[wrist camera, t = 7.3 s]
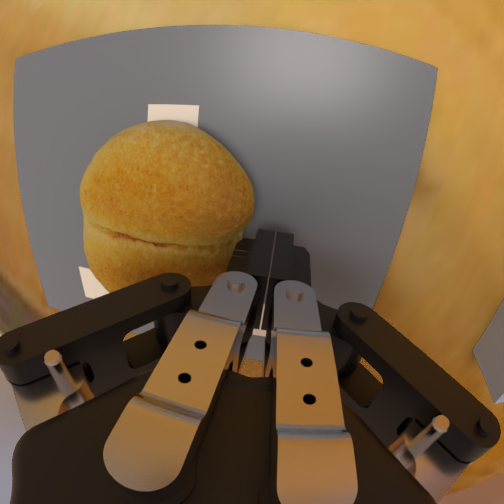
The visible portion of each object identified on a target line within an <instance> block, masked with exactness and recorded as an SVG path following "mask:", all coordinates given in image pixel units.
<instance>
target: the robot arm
mask: <svg viewBox="0 0 504 504" xmlns="http://www.w3.org/2000/svg"><path fill="white" fill-rule="evenodd" d="M274 237H275V231H272V230H266V229H259V228H258V231H257V235H256V238H255V239H249V238H243V239H242V240H240V241H239V242H237V244H236V246H235V249H234V251H233V254H232V257H231V259H230V262H229V264H228V267H227V269H226V272H225V273H222V274H221V275H219V276H218V277H217V278H216V280H215V282H214V283H213V284H212V285H208V286H193V287H191V282H190V280H189V279H188V278H187V277H186V276H184V275H182V274H179V273H162V274H159V275H156V276H154V277H151V278H148V279H146V280H143V281H140V282H138V283H135V284H132V285H130V286H127V287H124V288H122V289H119V290H116V291H114V292H111V293H108V294H106V295H103V296H100V297H98V298H95V299H92V300H90V301H87V302H84V303H82V304H79V305H77V306H74V307H71V308H69V309H66V310H63V311H61V312H58V313H56V314H53V315H50V316H48V317H45V318H43V319H40V320H37V321H35V322H32V323H30V324H27V325H24V326H22V327H19V328H17V329H14V330H12V331H9V332H7V333H5V334H3V335H2V336H1V337H0V368H1V370H2V371H3V373H4V375H5V378H6V379H7V381H8V382H9V384H10V385H11V387H12V388H13V391H14V395H15V399H16V402H17V405H18V408H19V412H20V415H21V417H22V421H23V424H24V426H25V430H26V432H25V433H24V435H23V436H22V437H21V438H20V440H19V441H18V443H17V445H16V447H15V450H14V453H13V458H12V477H13V480H12V495H11V501H10V504H438V503H439V502H440V500H441V499H442V498H443V497H444V496H445V494H446V493H447V492H448V491H449V490H450V488H451V487H452V486H453V485H454V483H455V482H456V481H457V479H458V478H459V477H460V475H461V474H462V473H463V471H464V470H465V469H466V467H467V466H469V465H470V464H471V463H473V462H474V461H475V460H477V459H478V458H479V457H481V456H482V455H483V454H484V453H486V452H487V451H488V450H489V449H491V448H492V447H493V446H494V445H495V444H496V443H497V442H498V440H499V438H500V434H501V430H500V425H499V422H498V420H497V418H496V417H495V415H494V414H493V413H492V412H490V411H489V410H488V409H487V408H486V407H485V406H484V405H483V404H482V403H481V402H479V401H478V400H477V399H476V398H475V397H474V396H473V395H472V394H470V393H469V392H468V391H467V390H466V389H465V388H464V387H463V386H461V385H460V384H459V383H458V382H457V381H456V380H455V379H453V378H452V377H451V376H450V375H449V374H448V373H447V372H445V371H444V370H443V369H442V368H441V367H440V366H439V365H437V364H436V363H435V362H434V361H433V360H432V359H430V358H429V357H428V356H427V355H426V354H425V353H423V352H422V351H421V350H420V349H419V348H418V347H416V346H415V345H414V344H413V343H412V342H411V341H409V340H408V339H407V338H406V337H405V336H403V335H402V334H401V333H400V332H399V331H397V330H396V329H395V328H394V327H393V326H391V325H390V324H389V323H388V322H387V321H385V320H384V319H383V318H382V317H381V316H379V315H378V314H377V313H376V312H375V311H373V310H372V309H371V308H369V307H368V306H366V305H364V304H361V303H357V302H347V303H344V304H342V305H340V307H339V308H338V310H337V309H334V308H331V307H329V306H326V305H324V304H322V303H321V302H319V301H318V300H317V299H316V294H315V291H314V290H313V289H312V288H311V268H310V254H309V252H308V251H307V250H306V248H305V247H301V246H294V245H293V244H294V234H291V233H285V232H279V231H277V234H276V240H275V247H274V253H273V259H272V266H271V272H270V278H269V284H268V290H267V296H266V302H265V308H264V314H263V320H262V326H261V330H266V337H265V342H264V347H263V366H262V377H256V378H251V377H247V376H244V375H241V374H240V371H241V368H242V365H243V362H244V359H245V356H246V353H247V350H248V346H249V342H250V338H251V337H252V334H253V329H259V327H260V322H261V316H262V310H263V305H264V299H265V293H266V287H267V281H268V275H269V269H270V263H271V257H272V250H273V244H274ZM153 321H154V328H152V329H150V330H148V331H146V332H144V333H141V334H139V335H137V336H135V337H132V338H130V339H128V340H125V341H123V339H124V337H125V335H126V334H127V333H129V332H130V331H133V330H135V329H137V328H139V327H142V326H144V325H146V324H149V323H151V322H153ZM362 357H363V358H364V359H365V360H366V361H367V362H368V363H369V364H370V365H371V366H372V367H373V368H374V369H375V370H376V371H377V372H378V373H379V374H380V375H381V377H382V379H383V385H382V384H381V383H380V382H379V381H378V380H377V379H376V378H375V377H374V376H373V375H372V374H371V373H370V372H369V371H368V370H367V369H366V368H365V367H364V366H363V365H362V364H361V363H360V360H361V358H362Z"/></svg>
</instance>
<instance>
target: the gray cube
mask: <svg viewBox="0 0 504 504" xmlns="http://www.w3.org/2000/svg"><path fill="white" fill-rule="evenodd" d="M472 351H473V353H474V356H475V358H476V360H477V362H478V365H479V367H480V369H481V372H482V374H483V376H484V379H485V381H486V384H487V386H488V389H489V391H490V394H491V396H492V399H493V402H494V404H496V403H502V402H504V299H503V301H502V303H501V305H500V306H499V308H498V310H497V312H496V313H495V315H494V317H493V319H492V320H491V322H490V323H489V325H488V327H487V328H486V330H485V332H484V333H483V335H482V336H481V338H480V339H479V341H478V342H477V344H476V345H475V347H474V348H473V350H472Z"/></svg>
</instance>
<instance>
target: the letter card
mask: <svg viewBox="0 0 504 504" xmlns="http://www.w3.org/2000/svg"><path fill="white" fill-rule="evenodd" d="M437 70H438V68H437V67H435V66H432V65H429V64H427V63H424V62H421V61H418V60H416V59H413V58H410V57H407V56H404V55H401V54H398V53H395V52H391V51H388V50H385V49H381V48H378V47H374V46H370V45H366V44H362V43H358V42H354V41H350V40H345V39H341V38H336V37H331V36H326V35H320V34H314V33H308V32H302V31H294V30H287V29H278V28H268V27H255V26H237V25H187V26H169V27H157V28H147V29H138V30H130V31H123V32H117V33H111V34H105V35H100V36H95V37H90V38H85V39H81V40H76V41H72V42H68V43H64V44H61V45H57V46H53V47H50V48H46V49H43V50H40V51H37V52H34V53H31V54H28V55H25V56H22V57H19V58H16V59H15V73H14V135H15V150H16V161H17V170H18V178H19V186H20V193H21V199H22V205H23V210H24V216H25V221H26V226H27V230H28V235H29V239H30V244H31V248H32V252H33V256H34V259H35V263H36V267H37V270H38V274H39V277H40V281H41V284H42V287H43V290H44V293H45V296H46V299H47V302H48V305H49V306H50V307H52V308H55V309H58V310H61V311H63V310H66V309H69V308H71V307H74V306H77V305H79V304H82V303H84V302H87V301H90V300H92V299H95V298H98V297H100V296H103V295H106V294H108V293H109V292H108V291H107V290H106V289H105V288H104V287H103V286H102V284H101V283H100V282H99V281H98V280H97V279H96V278H95V276H94V275H93V273H92V272H91V270H90V268H89V265H88V261H87V258H86V255H85V252H84V243H83V227H84V219H83V210H82V206H81V203H80V185H81V181H82V178H83V175H84V173H85V171H86V169H87V167H88V165H89V164H90V162H91V161H92V159H93V157H94V155H95V153H96V152H97V151H98V150H99V149H100V148H101V147H102V146H103V145H104V144H105V143H106V142H107V141H108V140H109V139H110V138H112V137H113V136H114V135H116V134H117V133H119V132H121V131H122V130H124V129H126V128H129V127H131V126H134V125H137V124H140V123H145V122H149V121H158V120H176V121H180V122H187V123H189V124H191V125H193V126H195V127H197V128H199V129H201V130H203V131H205V132H206V133H208V134H209V135H210V136H212V137H213V138H214V139H215V140H217V141H218V142H220V143H221V144H222V145H223V146H224V147H225V148H226V149H227V150H228V151H229V152H230V153H231V154H232V155H233V157H234V158H235V159H236V160H237V161H238V163H239V164H240V165H241V167H242V168H243V169H244V171H245V172H246V174H247V176H248V177H249V179H250V181H251V183H252V186H253V190H254V201H255V203H254V212H253V215H252V217H251V219H250V222H249V224H248V225H247V226H246V227H245V228H244V231H243V236H242V239H243V238H249V239H255V238H256V235H257V231H258V228H259V229H266V230H272V231H275V237H274V244H273V250H272V257H271V263H270V269H269V275H268V281H267V287H266V293H265V299H264V305H263V310H262V316H261V322H260V327H259V329H253V334H252V337H251V338H250V342H249V346H248V350H247V353H246V356H245V358H247V359H253V360H259V361H263V347H264V342H265V337H266V330H261V326H262V320H263V314H264V308H265V302H266V296H267V290H268V284H269V278H270V272H271V266H272V259H273V253H274V247H275V240H276V234H277V231H279V232H285V233H291V234H294V244H293V245H294V246H301V247H305V248H306V250H307V251H308V252H309V254H310V268H311V288H312V289H313V290H314V291H315V294H316V299H317V300H318V301H319V302H321V303H322V304H324V305H326V306H329V307H331V308H334V309H337V310H338V308H339V307H340V305H342V304H344V303H347V302H357V303H361V304H364V305H366V306H368V307H369V308H371V309H372V308H373V306H374V303H375V301H376V299H377V296H378V294H379V291H380V289H381V286H382V284H383V281H384V278H385V276H386V273H387V270H388V268H389V265H390V262H391V259H392V257H393V254H394V251H395V248H396V245H397V242H398V239H399V236H400V233H401V230H402V227H403V224H404V221H405V217H406V214H407V211H408V207H409V204H410V201H411V197H412V194H413V190H414V186H415V183H416V179H417V175H418V171H419V167H420V163H421V159H422V154H423V150H424V146H425V141H426V136H427V131H428V126H429V121H430V116H431V110H432V105H433V98H434V92H435V85H436V78H437ZM152 328H154V321H153V322H151V323H149V324H146V325H144V326H142V327H139V328H137V329H135V330H133V331H130V332H131V333H135V334H141V333H144V332H146V331H148V330H150V329H152Z"/></svg>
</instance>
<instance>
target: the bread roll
mask: <svg viewBox="0 0 504 504" xmlns="http://www.w3.org/2000/svg"><path fill="white" fill-rule="evenodd" d="M80 203H81V206H82V210H83V219H84V227H83V243H84V252H85V255H86V258H87V261H88V265H89V268H90V270H91V272H92V273H93V275H94V276H95V278H96V279H97V280H98V281H99V282H100V283H101V284H102V286H103V287H104V288H105V289H106V290H107V291H108V292H109V293H111V292H114V291H116V290H119V289H122V288H124V287H127V286H130V285H132V284H135V283H138V282H140V281H143V280H146V279H148V278H151V277H154V276H156V275H159V274H162V273H179V274H182V275H184V276H186V277H187V278H188V279H189V280H190V282H191V287H193V286H208V285H212V284H213V283H214V282H215V280H216V278H217V277H218V276H219V275H221V274H222V273H225V272H226V269H227V267H228V264H229V262H230V259H231V257H232V254H233V251H234V249H235V246H236V244H237V242H239V241H240V240H242V236H243V231H244V228H245V227H246V226H247V225H248V224H249V222H250V219H251V217H252V215H253V212H254V203H255V201H254V190H253V186H252V183H251V181H250V179H249V177H248V176H247V174H246V172H245V171H244V169H243V168H242V167H241V165H240V164H239V163H238V161H237V160H236V159H235V158H234V157H233V155H232V154H231V153H230V152H229V151H228V150H227V149H226V148H225V147H224V146H223V145H222V144H221V143H220V142H218V141H217V140H215V139H214V138H213V137H212V136H210V135H209V134H208V133H206V132H205V131H203V130H201V129H199V128H197V127H195V126H193V125H191V124H189V123H187V122H180V121H176V120H158V121H149V122H145V123H140V124H137V125H134V126H131V127H129V128H126V129H124V130H122V131H121V132H119V133H117V134H116V135H114V136H113V137H112V138H110V139H109V140H108V141H107V142H106V143H105V144H104V145H103V146H102V147H101V148H100V149H99V150H98V151H97V152H96V153H95V155H94V157H93V159H92V161H91V162H90V164H89V165H88V167H87V169H86V171H85V173H84V175H83V178H82V181H81V185H80Z"/></svg>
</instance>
